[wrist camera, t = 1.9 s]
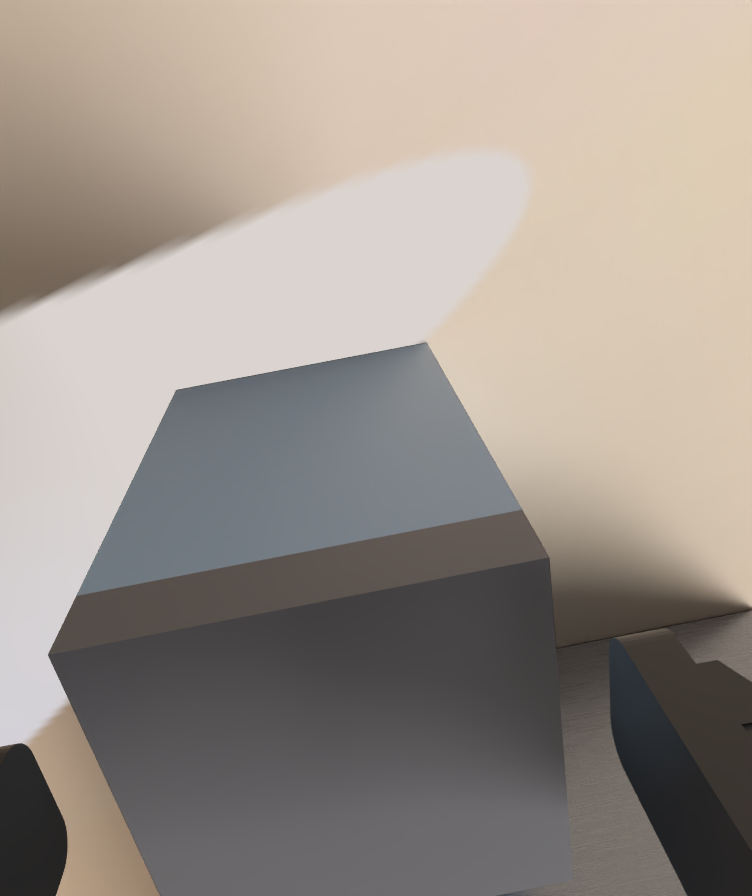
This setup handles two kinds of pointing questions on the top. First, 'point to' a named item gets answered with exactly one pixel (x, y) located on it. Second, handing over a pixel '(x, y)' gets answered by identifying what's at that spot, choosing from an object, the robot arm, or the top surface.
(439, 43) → the top surface
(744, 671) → the grey boxy piece
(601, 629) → the top surface
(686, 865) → the robot arm
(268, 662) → the grey lidded box
